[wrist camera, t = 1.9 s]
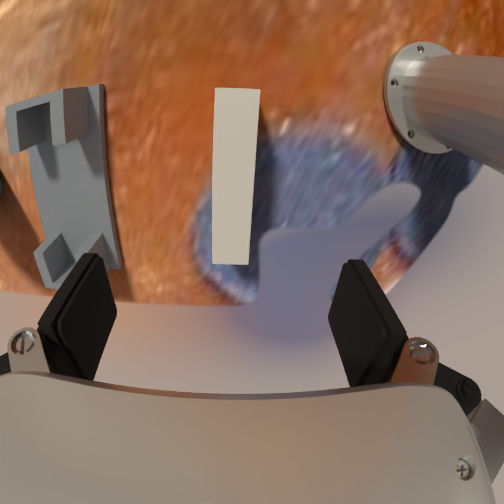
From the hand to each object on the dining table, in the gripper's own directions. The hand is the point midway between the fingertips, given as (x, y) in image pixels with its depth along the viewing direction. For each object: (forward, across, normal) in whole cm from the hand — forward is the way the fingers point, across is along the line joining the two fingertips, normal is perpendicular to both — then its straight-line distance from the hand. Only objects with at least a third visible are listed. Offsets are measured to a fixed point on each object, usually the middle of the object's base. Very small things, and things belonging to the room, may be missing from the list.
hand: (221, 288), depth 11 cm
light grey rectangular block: (+19, 0, 0) cm, 19 cm away
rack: (+19, +18, +2) cm, 26 cm away
